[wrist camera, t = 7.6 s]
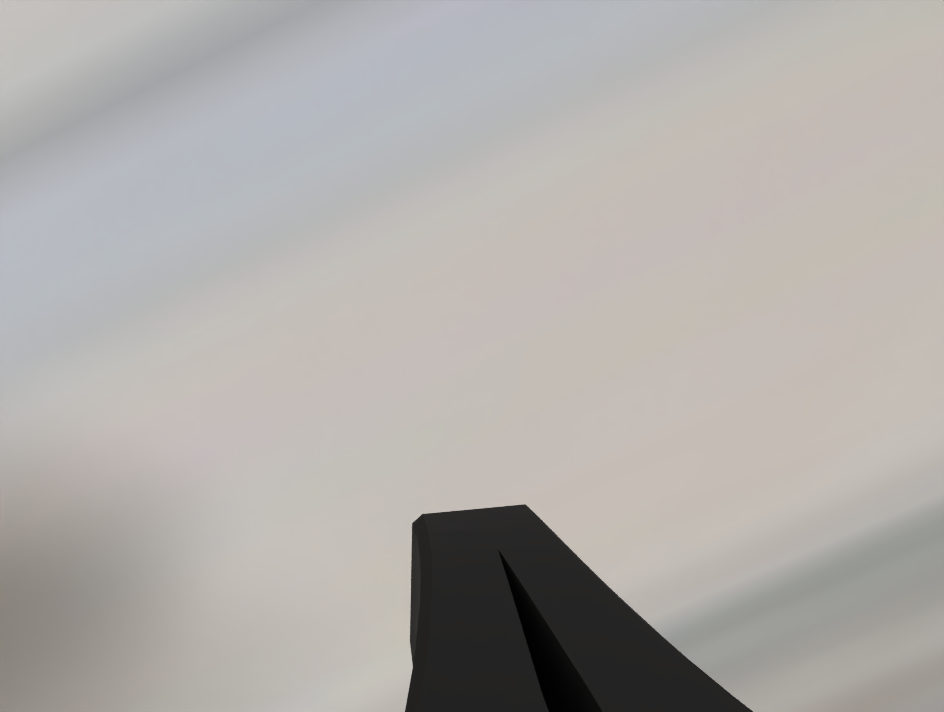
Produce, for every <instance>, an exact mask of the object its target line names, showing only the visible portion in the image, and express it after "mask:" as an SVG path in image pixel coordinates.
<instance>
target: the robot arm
mask: <svg viewBox="0 0 944 712" xmlns="http://www.w3.org/2000/svg"><path fill="white" fill-rule="evenodd" d="M410 645H411V653H412V662H413V670H412V676H411V682H410V687H409V693H408V698H407V704H406V710H405V712H753V711H752V710H750V709H749V708H748V707H746V706H745V705H744V704H742V703H741V702H740V701H739V700H737V699H736V698H735V697H734V696H732V695H731V694H730V693H729V692H727V691H726V690H725V689H724V688H723V687H721V686H720V685H719V684H718V683H716V682H715V681H714V680H713V679H712V678H710V677H709V676H708V675H707V674H706V673H704V672H703V671H702V670H701V669H699V668H698V667H697V666H696V665H695V664H693V663H692V662H691V661H690V660H689V659H687V658H686V657H685V656H684V655H683V654H682V653H681V652H679V651H678V650H677V649H676V648H675V647H674V646H673V645H671V644H670V643H669V642H668V641H667V640H666V639H665V638H663V637H662V636H661V635H660V634H659V633H658V632H657V631H656V630H655V629H654V628H652V627H651V626H650V625H649V624H648V623H647V622H646V621H645V620H644V619H643V618H642V617H641V616H639V615H638V614H637V613H636V612H635V611H634V610H633V609H632V608H631V607H630V606H629V605H627V604H626V603H625V602H624V601H623V600H622V599H621V598H620V597H619V596H618V595H617V594H616V593H615V592H614V591H613V590H612V589H610V588H609V587H608V586H607V585H606V584H605V583H604V582H603V581H602V580H601V579H600V578H599V577H598V576H597V575H596V574H595V573H594V572H593V571H592V570H591V569H590V568H589V567H588V566H587V565H586V564H585V563H584V562H583V561H582V560H581V559H580V558H579V557H578V556H577V555H576V554H575V553H574V552H573V551H572V550H571V549H570V548H569V547H568V546H567V545H566V544H565V543H564V542H563V541H562V540H561V539H560V538H559V537H558V536H557V535H556V534H555V533H554V532H553V531H552V530H551V529H550V528H549V527H548V526H547V525H546V524H545V523H544V522H543V521H542V520H541V519H540V518H539V517H538V516H537V515H536V514H535V513H534V512H533V511H532V510H531V509H530V508H529V507H528V506H526V505H515V506H504V507H494V508H483V509H472V510H462V511H451V512H441V513H430V514H422V515H421V516H420V517H419V518H418V519H417V520H416V521H414V522H413V523H412V568H411V621H410Z"/></svg>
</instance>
